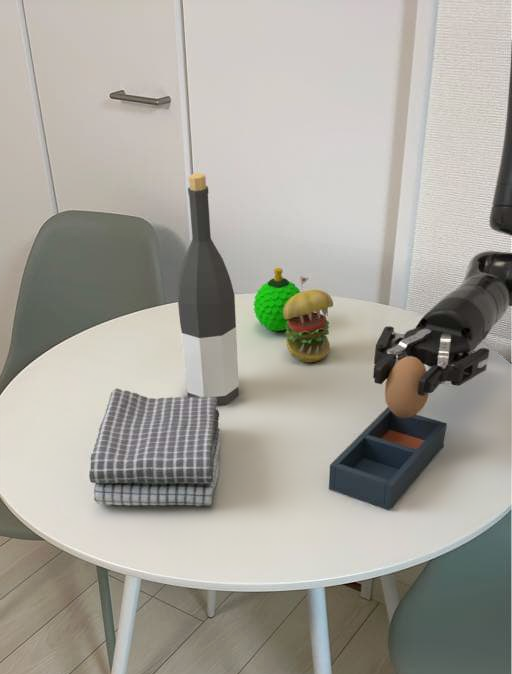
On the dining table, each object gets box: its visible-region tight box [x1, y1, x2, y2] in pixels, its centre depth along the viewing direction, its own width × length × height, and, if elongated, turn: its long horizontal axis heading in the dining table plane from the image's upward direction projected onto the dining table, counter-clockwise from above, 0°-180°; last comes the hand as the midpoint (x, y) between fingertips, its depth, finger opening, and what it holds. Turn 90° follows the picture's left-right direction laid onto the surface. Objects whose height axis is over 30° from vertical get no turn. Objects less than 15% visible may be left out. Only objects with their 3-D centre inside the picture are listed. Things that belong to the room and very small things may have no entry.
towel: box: [88, 388, 222, 507], centre depth 94 cm, size 15×18×8 cm
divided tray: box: [328, 406, 448, 511], centre depth 93 cm, size 8×15×4 cm, turn 144°
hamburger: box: [283, 275, 334, 363], centre depth 114 cm, size 8×7×12 cm
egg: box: [384, 356, 430, 418], centre depth 90 cm, size 5×5×8 cm
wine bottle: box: [176, 172, 240, 407], centre depth 101 cm, size 8×8×30 cm
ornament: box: [253, 267, 301, 332], centre depth 123 cm, size 8×8×10 cm
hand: (399, 382), depth 87 cm, fingers closed on egg, 5 cm apart
